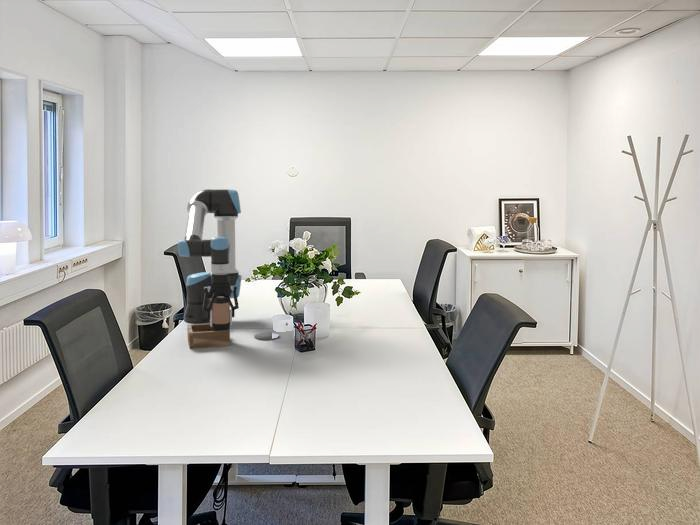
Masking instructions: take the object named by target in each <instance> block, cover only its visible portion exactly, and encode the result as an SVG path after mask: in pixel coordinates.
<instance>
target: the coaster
mask: <svg viewBox="0 0 700 525" xmlns="http://www.w3.org/2000/svg"><path fill="white" fill-rule="evenodd" d="M272 332H273V331H272ZM272 332H271V331H263V332H258V333H255V334H254V336H253V337H254V339H256V340H259V341H272Z"/></svg>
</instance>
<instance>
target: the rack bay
mask: <svg viewBox="0 0 700 525" xmlns="http://www.w3.org/2000/svg"><path fill="white" fill-rule="evenodd" d="M186 325H187V326H186V327H187V330H186V331H187V343H188V347H189V349H205V348H214V347H217V348H218V347H227V346H229V347H230V344H231V341H230V340H231V339H230V338H231V335H230V334H231V330H230V331H229V330H219V331H212V327H211V326H210V322H207V323H193V324H186Z"/></svg>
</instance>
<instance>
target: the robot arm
mask: <svg viewBox="0 0 700 525" xmlns="http://www.w3.org/2000/svg"><path fill="white" fill-rule="evenodd" d="M186 210H187V211H186V212H187V213H188V215H187V221H186V225H185V226H186V228H185V234H184V238H183V239H180V240H178V243H177V253H178V255H179V257H182V258H183V257H186V258H200V257H201V258H203V257H206V258H211V259H210V260H211V262H210V263H211V264H210V269H211V272H205V271H204V272H197V273H192V274H190V275H188V276H187V277H186V284H185V287H186V307H185V311H184V314H183V321H184V322H186V323H190V324H191V323H193V324H204V323H210V326H211V327H212V305H213V298H212V297H214V298H216V296H218V295H225V296H226V297H230V298H229V305H230V327H232V326H233V318H235V316H236V315H235V314H236V313H235V312H236V311H235V310H238V309H239V301H238V297H240V291H241V284H242V274H239V270H237V267H236V220H237V219H238V218H239V214H241V212H242V211H241V210H242V209H241V201H240V196H239V191H237V190H236V189H210V188H208V189H203V190H200V191H198V192H197V193H195V194H194V195H193V196H192V197H190V200H189V202H188V203H187V207H186ZM207 214H213V217H214V219H216V221H217V225H216V226H217V229H216V230H217V233H216V234H217V236H214V237H211V239H203V236H204V235H203V234H204V225H205V218H206V216H207ZM231 299H233V301H234V305H233V302H232V300H231Z"/></svg>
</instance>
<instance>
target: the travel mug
mask: <svg viewBox="0 0 700 525" xmlns="http://www.w3.org/2000/svg"><path fill="white" fill-rule="evenodd" d="M212 298H213V305H212V331H219V330H229V331H230V332H231V326H230V310H231V307H230V305H229V298H230V297H226V296H225V295H218V296H216V298H214V297H212ZM230 299H231V298H230Z"/></svg>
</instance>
